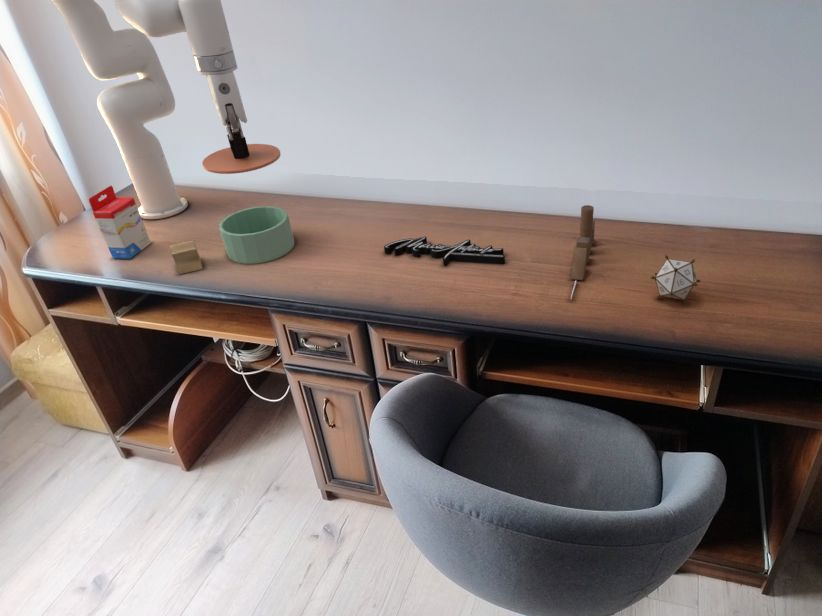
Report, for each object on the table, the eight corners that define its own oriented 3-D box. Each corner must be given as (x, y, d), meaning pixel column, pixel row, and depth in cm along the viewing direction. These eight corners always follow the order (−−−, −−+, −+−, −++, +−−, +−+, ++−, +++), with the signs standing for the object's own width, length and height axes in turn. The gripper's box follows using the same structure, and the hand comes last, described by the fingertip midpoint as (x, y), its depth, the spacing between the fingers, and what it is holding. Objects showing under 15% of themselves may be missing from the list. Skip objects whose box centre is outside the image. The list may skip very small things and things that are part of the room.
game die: (659, 311, 122) (640, 263, 122) (702, 294, 121) (683, 245, 120) (667, 315, 114) (646, 263, 113) (714, 296, 112) (693, 243, 112)
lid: (200, 157, 140) (191, 127, 136) (274, 144, 144) (267, 114, 140) (207, 182, 128) (197, 149, 124) (287, 166, 132) (280, 134, 128)
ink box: (130, 259, 146) (105, 200, 138) (112, 258, 147) (85, 199, 139) (152, 242, 153) (129, 184, 144) (134, 241, 154) (110, 184, 145)
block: (178, 264, 143) (170, 244, 140) (200, 259, 144) (193, 239, 141) (179, 274, 139) (171, 254, 136) (202, 268, 141) (195, 248, 138)
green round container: (223, 242, 151) (215, 215, 146) (288, 227, 155) (281, 200, 151) (231, 270, 139) (222, 241, 135) (301, 253, 144) (294, 225, 139)
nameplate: (377, 255, 137) (392, 234, 145) (378, 262, 138) (392, 241, 146) (502, 262, 131) (510, 240, 139) (502, 269, 132) (510, 247, 140)
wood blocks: (582, 240, 140) (584, 196, 134) (594, 241, 139) (596, 197, 133) (564, 300, 121) (566, 251, 115) (578, 301, 120) (580, 252, 114)
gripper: (241, 68, 119) (264, 163, 130) (230, 52, 131) (253, 140, 142) (199, 74, 117) (227, 170, 128) (193, 57, 129) (218, 146, 140)
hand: (240, 153), depth 135 cm, fingers closed on lid, 2 cm apart
